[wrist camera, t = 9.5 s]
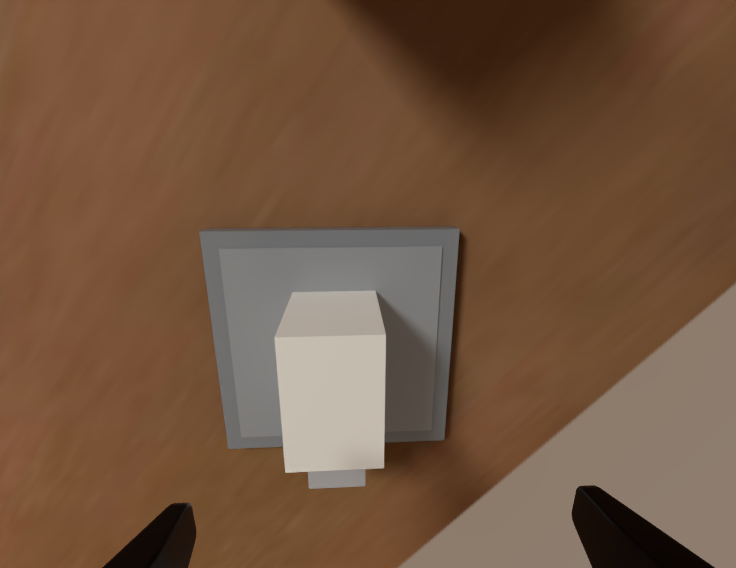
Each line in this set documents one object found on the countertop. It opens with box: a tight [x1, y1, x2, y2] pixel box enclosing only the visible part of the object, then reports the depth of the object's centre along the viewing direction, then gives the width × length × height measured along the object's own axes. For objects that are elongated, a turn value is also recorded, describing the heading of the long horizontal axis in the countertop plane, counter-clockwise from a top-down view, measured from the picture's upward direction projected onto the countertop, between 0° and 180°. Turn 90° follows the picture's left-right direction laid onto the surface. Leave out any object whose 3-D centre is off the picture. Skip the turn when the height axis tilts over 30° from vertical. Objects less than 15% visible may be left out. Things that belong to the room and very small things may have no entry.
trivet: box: [199, 226, 460, 449], centre depth 20 cm, size 12×12×1 cm
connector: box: [274, 291, 386, 489], centre depth 17 cm, size 4×8×5 cm, turn 0°
